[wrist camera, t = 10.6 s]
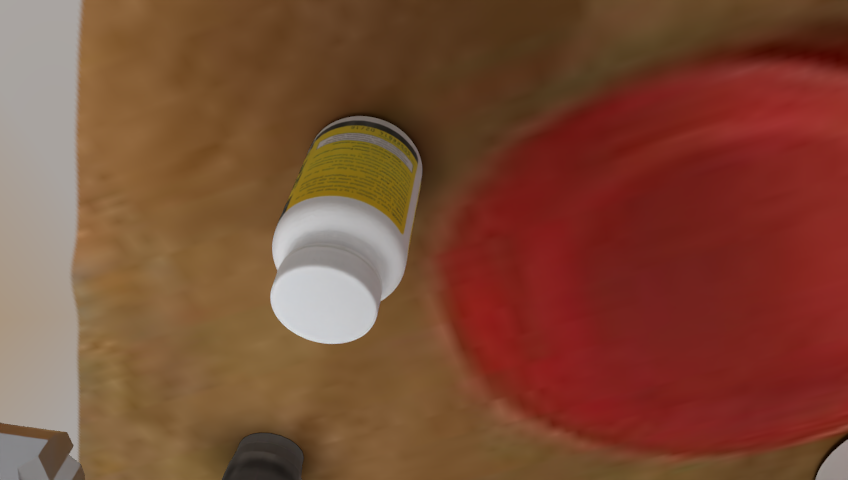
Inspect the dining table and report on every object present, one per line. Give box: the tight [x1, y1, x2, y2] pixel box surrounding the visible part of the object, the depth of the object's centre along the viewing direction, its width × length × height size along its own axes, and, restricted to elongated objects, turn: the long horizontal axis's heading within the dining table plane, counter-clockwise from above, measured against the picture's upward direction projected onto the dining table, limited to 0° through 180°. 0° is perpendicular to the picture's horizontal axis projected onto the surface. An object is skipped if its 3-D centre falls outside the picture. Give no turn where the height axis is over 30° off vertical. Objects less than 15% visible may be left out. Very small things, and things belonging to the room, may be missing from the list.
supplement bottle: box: [270, 116, 422, 344], centre depth 30 cm, size 5×5×10 cm
